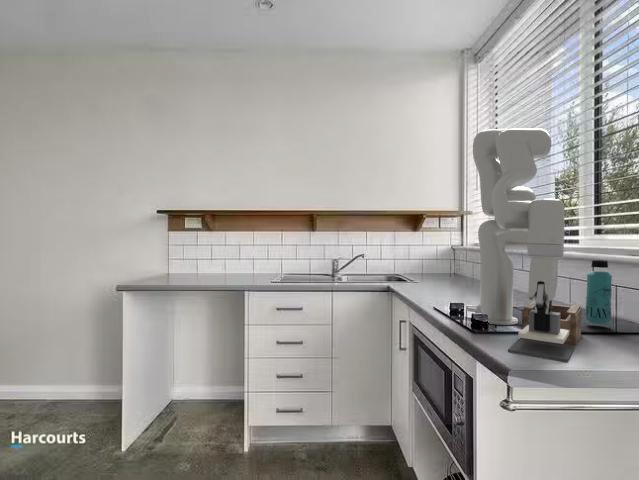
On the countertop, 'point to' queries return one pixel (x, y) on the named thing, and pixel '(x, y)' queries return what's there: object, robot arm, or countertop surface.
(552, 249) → the robot arm
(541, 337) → the cover plate
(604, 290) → the beverage bottle
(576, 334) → the walnut box
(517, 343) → the charcoal mat
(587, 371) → the countertop surface
